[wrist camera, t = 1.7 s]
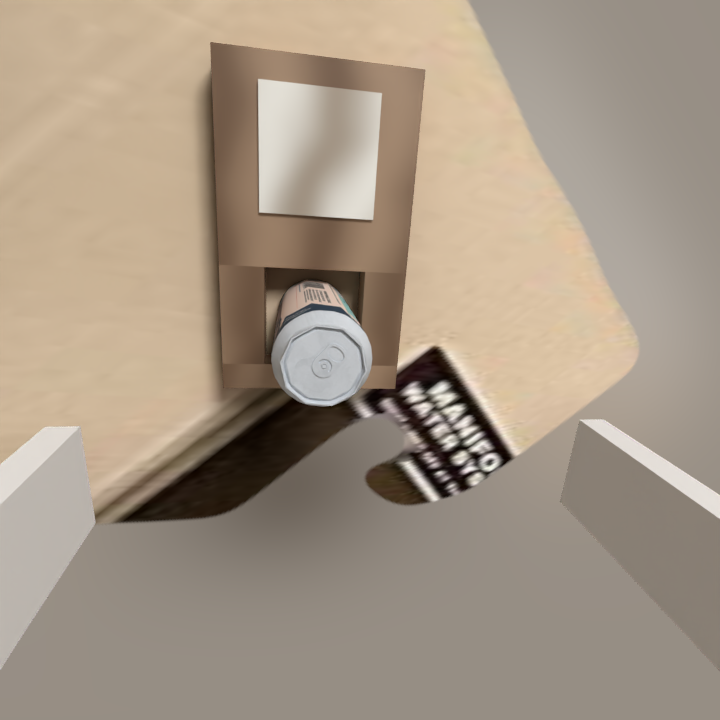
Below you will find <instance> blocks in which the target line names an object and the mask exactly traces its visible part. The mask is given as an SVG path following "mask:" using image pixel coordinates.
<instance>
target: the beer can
mask: <svg viewBox="0 0 720 720" xmlns="http://www.w3.org/2000/svg"><path fill="white" fill-rule="evenodd" d="M271 362H272V368H273V373H274V376H275V378H276V380H277V382H278V383H279V385H280V387H281V388H282V389H283V390H284V391H285V392H286V393H287V394H288V395H289V396H291V397H292V398H294V399H295V400H297V401H299V402H301V403H304V404H307V405H313V406H333V405H335V404H338V403H340V402H342V401H345V400H347V399H349V398H350V397H351V396H353V395H354V394H355V393H357V392H358V391H359V389H360V388H361V387H362V386H363V384H364V383H365V382H366V380H367V378H368V375H369V373H370V370H371V365H372V350H371V345H370V342H369V340H368V337H367V335H366V333H365V332H364V330H363V329H362V327H361V325H360V324H359V322H358V321H357V319H356V317H355V316H354V314H353V313H352V311H351V309H350V308H349V306H348V305H347V303H346V301H345V300H344V298H343V297H342V295H341V294H340V293H339V292H338V290H337V289H336V288H334V287H333V286H332V285H331V284H329V283H327V282H325V281H321V280H313V279H309V280H304V281H301V282H298V283H296V284H294V285H293V286H291V287H290V288H289V289H288V290H287V291H286V292H285V294H284V295H283V297H282V299H281V301H280V305H279V309H278V315H277V322H276V328H275V335H274V341H273V348H272V354H271Z"/></svg>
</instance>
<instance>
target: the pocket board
mask: <svg viewBox="0 0 720 720" xmlns="http://www.w3.org/2000/svg"><path fill="white" fill-rule="evenodd" d="M210 45H211V72H212V99H213V125H214V152H215V178H216V205H217V232H218V258H219V285H220V312H221V338H222V365H223V388H281V387H280V385H279V383H278V382H277V380H276V378H275V376H274V373H273V368H272V362H271V355H266V267H275V268H296V269H317V270H338V271H359V272H360V281H359V297H358V313H357V321H358V322H359V324H360V325H361V327H362V329H363V330H364V332H365V333H366V335H367V337H368V340H369V342H370V345H371V350H372V365H371V370H370V373H369V375H368V378H367V380H366V382H365V383H364V384H363V386H362V387H361V388H360V389H395V383H396V372H397V362H398V351H399V341H400V331H401V320H402V310H403V299H404V289H405V278H406V268H407V257H408V247H409V236H410V226H411V215H412V205H413V194H414V184H415V173H416V163H417V152H418V142H419V131H420V121H421V110H422V100H423V89H424V79H425V70H424V69H417V68H409V67H401V66H393V65H385V64H377V63H370V62H362V61H354V60H346V59H338V58H330V57H322V56H315V55H307V54H299V53H291V52H283V51H275V50H268V49H260V48H252V47H244V46H236V45H228V44H221V43H213V42H210Z"/></svg>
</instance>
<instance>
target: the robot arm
mask: <svg viewBox="0 0 720 720" xmlns="http://www.w3.org/2000/svg"><path fill="white" fill-rule="evenodd" d="M560 502H561V503H562V504H563V505H564V506H565V507H566V508H567V509H568V510H569V511H570V512H571V514H572V515H573V516H574V517H575V518H576V519H577V520H578V521H579V522H580V523H581V524H582V525H583V526H584V527H585V528H586V530H588V532H589V533H590V534H591V535H592V536H593V537H594V538H595V539H596V540H597V541H598V542H599V543H600V544H601V545H602V547H603V548H604V549H605V550H606V551H607V552H608V553H609V554H610V555H611V556H612V557H613V558H614V559H615V560H616V561H617V562H618V564H619V565H621V567H622V568H623V569H624V570H625V571H626V572H627V573H628V574H629V575H630V576H631V577H632V578H633V579H634V580H635V582H636V583H637V584H638V585H639V586H640V587H641V588H642V589H643V590H644V591H645V592H646V593H647V594H648V595H649V596H650V598H651V599H652V600H653V601H654V602H655V603H656V604H657V605H658V606H659V607H660V608H661V609H662V610H663V611H664V612H665V614H667V615H668V617H669V618H670V619H671V620H672V621H673V622H674V623H675V624H676V625H677V626H678V627H679V628H680V629H681V630H682V632H683V633H684V634H685V635H686V636H687V637H688V638H689V639H690V640H691V641H692V642H693V643H694V644H695V645H696V646H697V648H698V649H699V650H700V651H701V652H702V653H703V654H704V655H705V656H706V657H707V658H708V659H709V660H710V661H711V662H712V663H713V665H714V666H715V667H716V668H717V669H718V670H719V671H720V495H719V494H717V493H716V492H714V491H713V490H711V489H710V488H708V487H706V486H705V485H703V484H702V483H700V482H699V481H697V480H696V479H694V478H693V477H691V476H689V475H688V474H686V473H685V472H683V471H682V470H680V469H679V468H677V467H676V466H674V465H672V464H671V463H670V462H668V461H666V460H665V459H663V458H662V457H660V456H659V455H657V454H656V453H654V452H653V451H651V450H650V449H648V448H647V447H645V446H643V445H642V444H640V443H639V442H637V441H636V440H634V439H633V438H631V437H630V436H628V435H627V434H625V433H623V432H622V431H620V430H619V429H617V428H616V427H614V426H613V425H611V424H610V423H608V422H607V421H605V420H579V424H578V429H577V432H576V437H575V441H574V445H573V449H572V453H571V458H570V462H569V466H568V470H567V474H566V479H565V483H564V487H563V491H562V495H561V499H560ZM94 524H95V516H94V510H93V504H92V497H91V491H90V485H89V478H88V472H87V466H86V459H85V453H84V447H83V440H82V434H81V428H80V426H74V427H44V428H43V429H42V430H41V431H39V432H38V433H37V434H36V435H35V436H33V437H32V438H31V439H30V440H29V441H27V442H26V443H25V444H24V445H23V446H22V447H20V448H19V449H18V450H17V451H16V452H14V453H13V454H12V455H11V456H10V457H9V458H7V459H6V460H5V461H4V462H3V463H1V464H0V669H1V668H2V666H3V665H4V663H5V662H6V660H7V659H8V657H9V655H10V654H11V652H12V651H13V649H14V648H15V646H16V645H17V643H18V642H19V640H20V639H21V637H22V635H23V634H24V632H25V631H26V629H27V628H28V626H29V625H30V623H31V622H32V620H33V618H34V617H35V615H36V614H37V612H38V611H39V609H40V608H41V606H42V605H43V603H44V601H45V600H46V598H47V596H48V595H49V594H50V592H51V591H52V589H53V588H54V586H55V584H56V583H57V581H58V580H59V578H60V577H61V575H62V574H63V572H64V571H65V569H66V568H67V566H68V564H69V563H70V561H71V560H72V558H73V557H74V555H75V554H76V552H77V551H78V549H79V547H80V546H81V544H82V543H83V541H84V539H85V538H86V537H87V535H88V534H89V532H90V530H91V529H92V527H93V526H94Z"/></svg>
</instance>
